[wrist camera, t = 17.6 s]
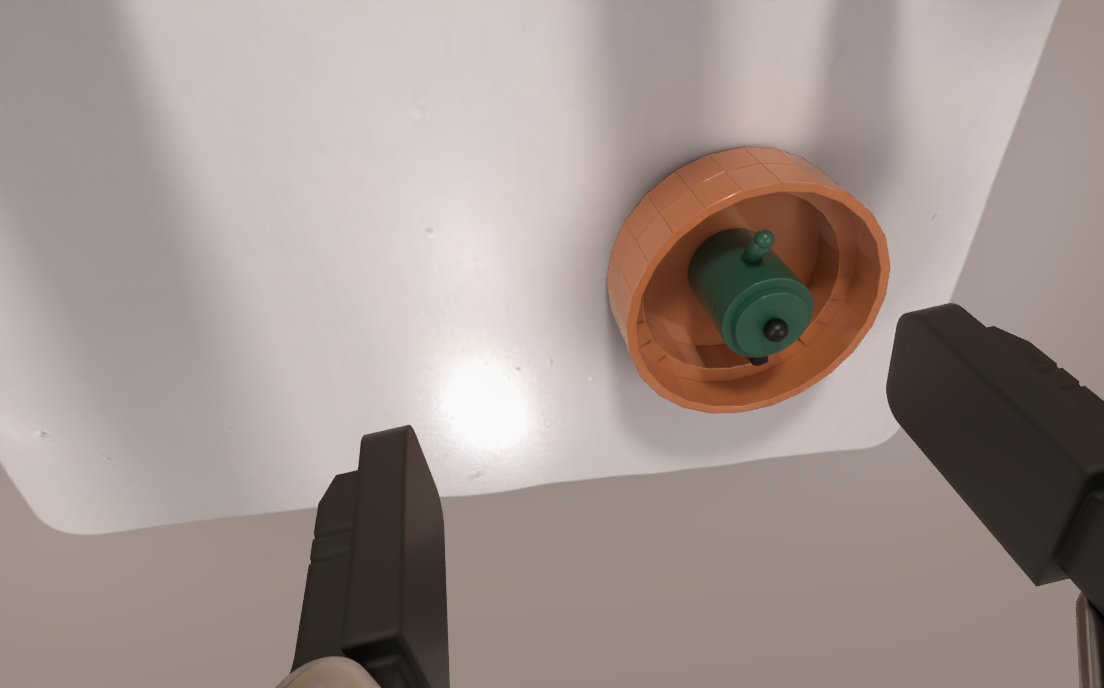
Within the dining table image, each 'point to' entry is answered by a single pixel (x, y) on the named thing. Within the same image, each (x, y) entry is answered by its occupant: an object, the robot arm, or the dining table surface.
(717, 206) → the bowl
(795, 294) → the kettle
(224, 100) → the dining table surface
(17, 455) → the dining table surface
